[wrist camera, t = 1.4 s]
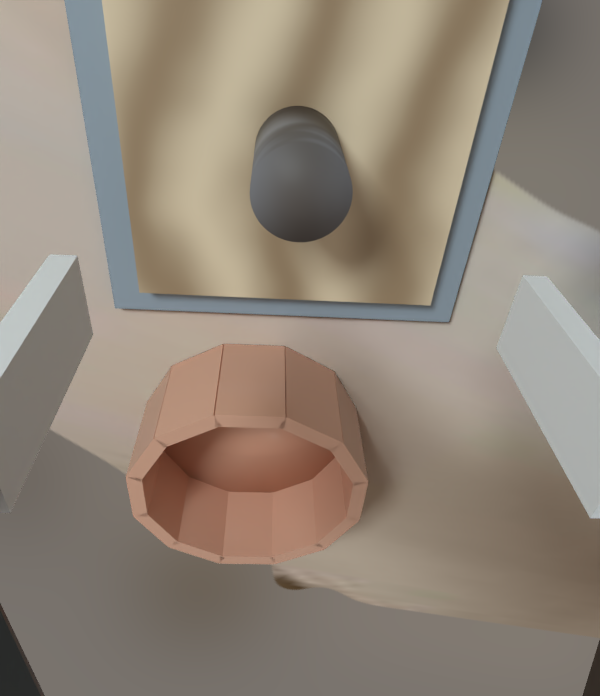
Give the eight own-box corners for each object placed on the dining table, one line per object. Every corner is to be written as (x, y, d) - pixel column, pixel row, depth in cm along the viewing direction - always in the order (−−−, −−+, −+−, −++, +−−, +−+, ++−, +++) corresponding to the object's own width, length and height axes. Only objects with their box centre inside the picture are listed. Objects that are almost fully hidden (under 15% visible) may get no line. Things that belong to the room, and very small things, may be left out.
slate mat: (567, -105, 23) (572, -106, 23) (446, 317, 36) (448, 322, 36) (43, -156, 22) (38, -159, 21) (117, 303, 35) (115, 308, 34)
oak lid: (512, -51, 24) (587, -48, 18) (426, 295, 35) (455, 365, 29) (97, -89, 22) (36, -98, 17) (143, 282, 33) (115, 353, 28)
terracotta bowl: (367, 349, 38) (383, 419, 32) (341, 491, 48) (349, 565, 42) (138, 340, 37) (113, 411, 31) (158, 488, 46) (142, 562, 41)
